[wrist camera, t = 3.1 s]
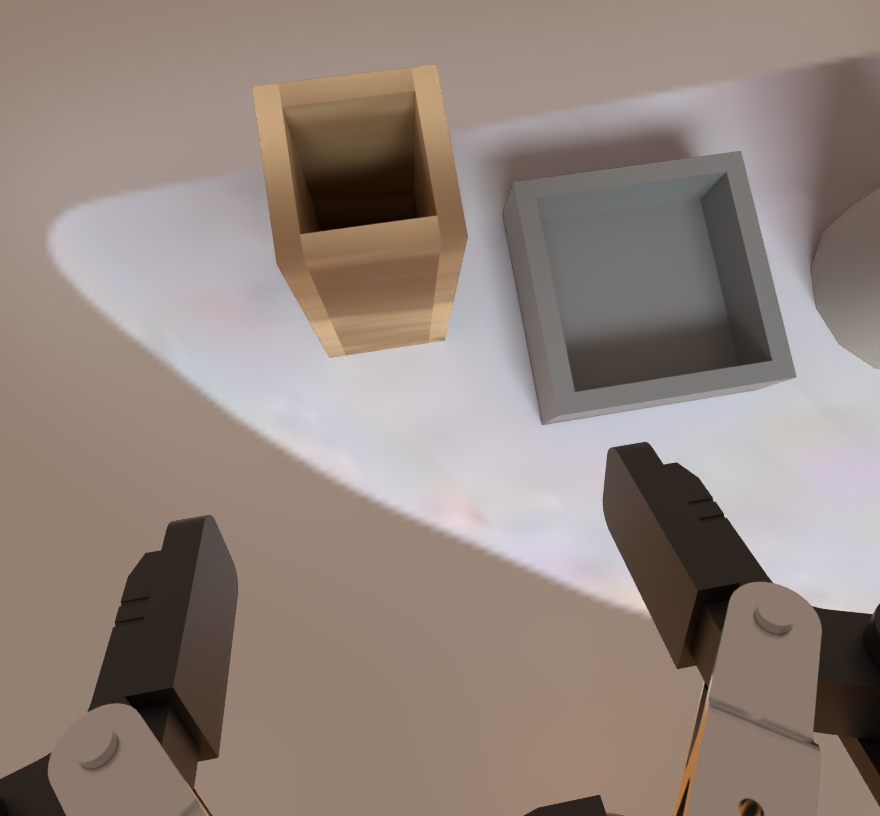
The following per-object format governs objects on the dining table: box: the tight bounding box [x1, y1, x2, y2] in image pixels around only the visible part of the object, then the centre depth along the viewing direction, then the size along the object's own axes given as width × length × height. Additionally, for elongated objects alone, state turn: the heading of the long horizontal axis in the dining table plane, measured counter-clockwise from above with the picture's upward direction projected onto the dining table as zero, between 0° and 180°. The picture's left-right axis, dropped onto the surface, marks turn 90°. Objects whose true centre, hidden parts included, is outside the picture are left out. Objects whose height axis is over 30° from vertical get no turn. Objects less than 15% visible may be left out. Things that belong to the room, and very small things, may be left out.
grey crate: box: [503, 151, 796, 425], centre depth 27 cm, size 10×10×3 cm
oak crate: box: [252, 64, 468, 358], centre depth 22 cm, size 5×5×11 cm
